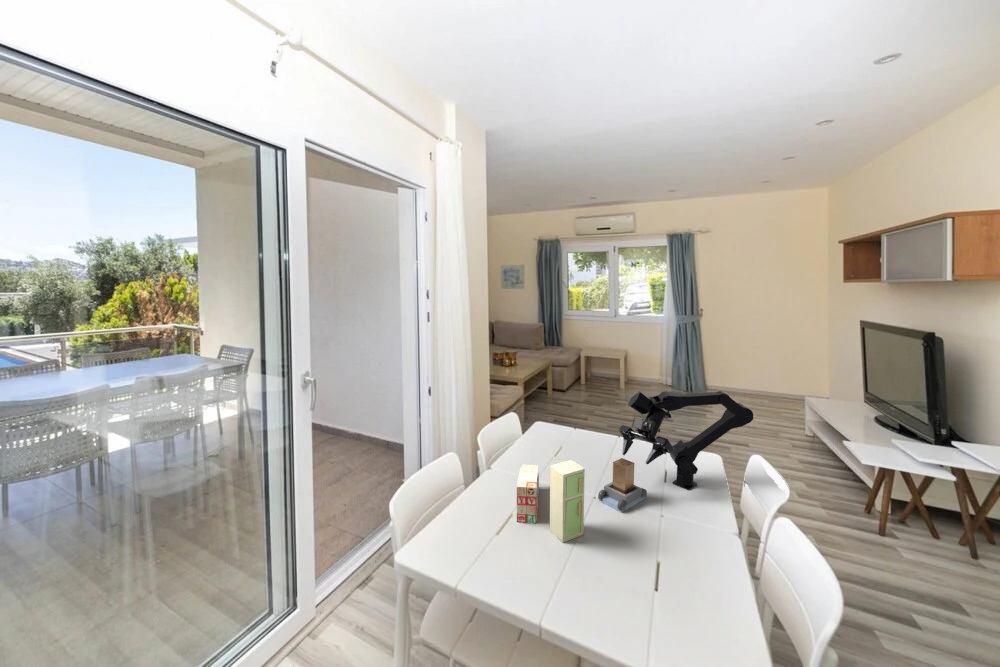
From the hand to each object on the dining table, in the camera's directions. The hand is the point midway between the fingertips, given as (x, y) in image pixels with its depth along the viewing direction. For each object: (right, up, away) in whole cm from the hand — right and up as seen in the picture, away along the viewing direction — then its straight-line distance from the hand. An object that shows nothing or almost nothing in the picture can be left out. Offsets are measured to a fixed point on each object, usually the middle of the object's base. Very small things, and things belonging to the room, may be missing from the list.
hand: (634, 459), depth 136 cm
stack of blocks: (-38, -14, -4) cm, 41 cm away
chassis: (-5, -13, -2) cm, 14 cm away
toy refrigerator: (-27, -16, -20) cm, 38 cm away
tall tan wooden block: (-5, -12, -2) cm, 13 cm away
